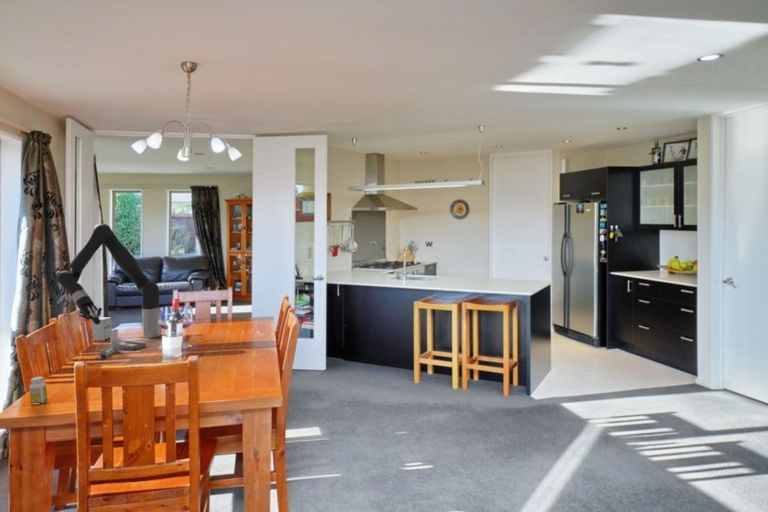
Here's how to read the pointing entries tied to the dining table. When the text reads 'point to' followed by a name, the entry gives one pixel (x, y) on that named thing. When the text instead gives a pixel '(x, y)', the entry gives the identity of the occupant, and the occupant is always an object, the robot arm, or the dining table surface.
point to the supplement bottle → (38, 390)
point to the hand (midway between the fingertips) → (98, 323)
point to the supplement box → (102, 329)
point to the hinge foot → (103, 357)
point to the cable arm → (113, 344)
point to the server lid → (131, 345)
